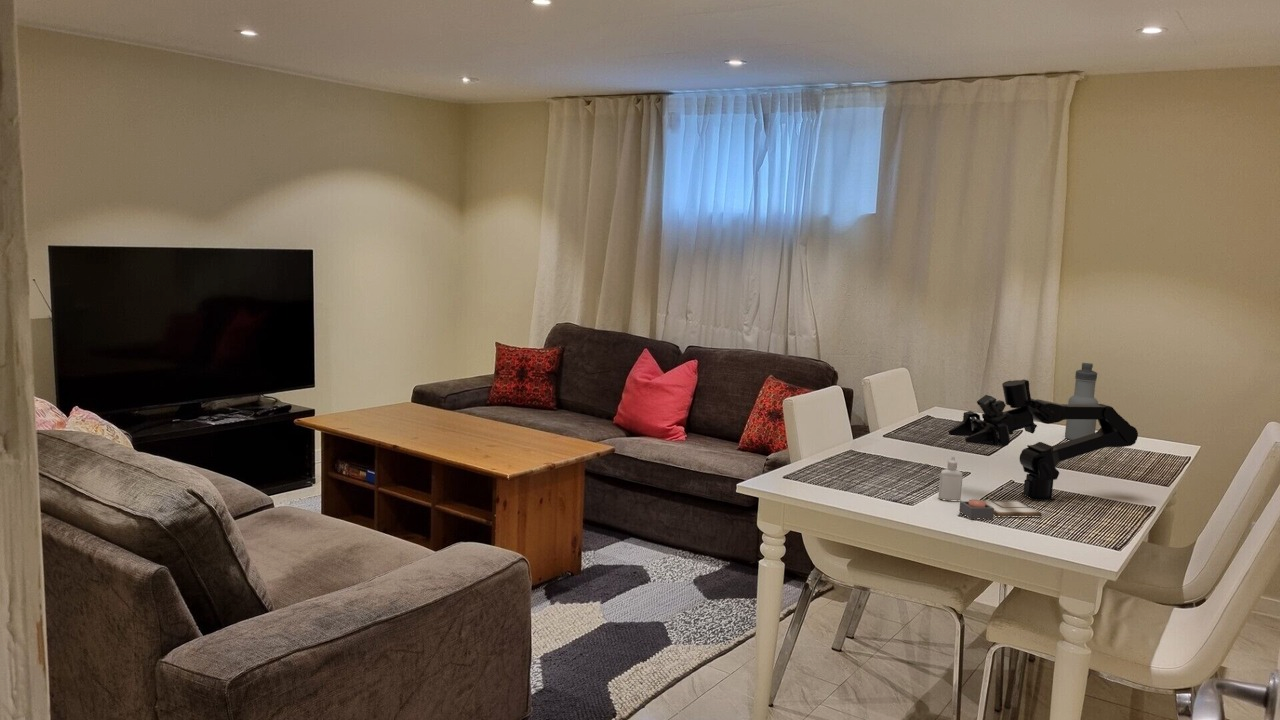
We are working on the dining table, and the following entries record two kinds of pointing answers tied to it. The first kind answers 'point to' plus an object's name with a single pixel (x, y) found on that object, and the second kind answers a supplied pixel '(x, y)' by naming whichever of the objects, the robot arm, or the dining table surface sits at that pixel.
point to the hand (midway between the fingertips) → (957, 436)
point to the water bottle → (1082, 402)
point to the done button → (976, 503)
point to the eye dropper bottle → (950, 482)
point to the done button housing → (976, 511)
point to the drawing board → (1012, 508)
